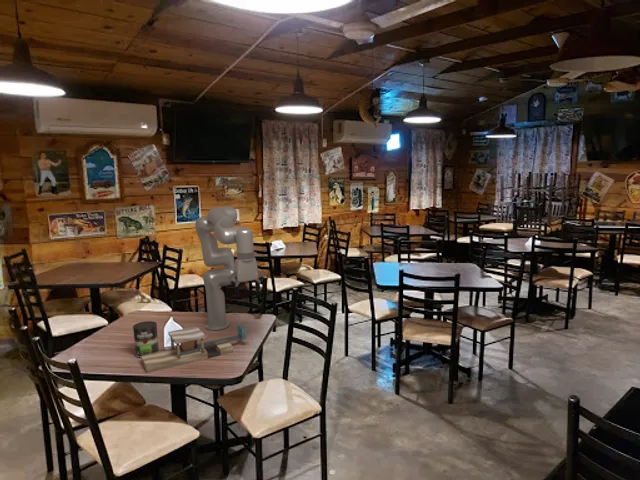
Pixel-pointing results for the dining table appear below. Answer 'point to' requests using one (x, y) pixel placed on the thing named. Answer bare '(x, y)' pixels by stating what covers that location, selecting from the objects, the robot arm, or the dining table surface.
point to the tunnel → (173, 356)
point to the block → (187, 345)
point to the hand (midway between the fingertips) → (247, 292)
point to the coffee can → (145, 338)
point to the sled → (240, 335)
